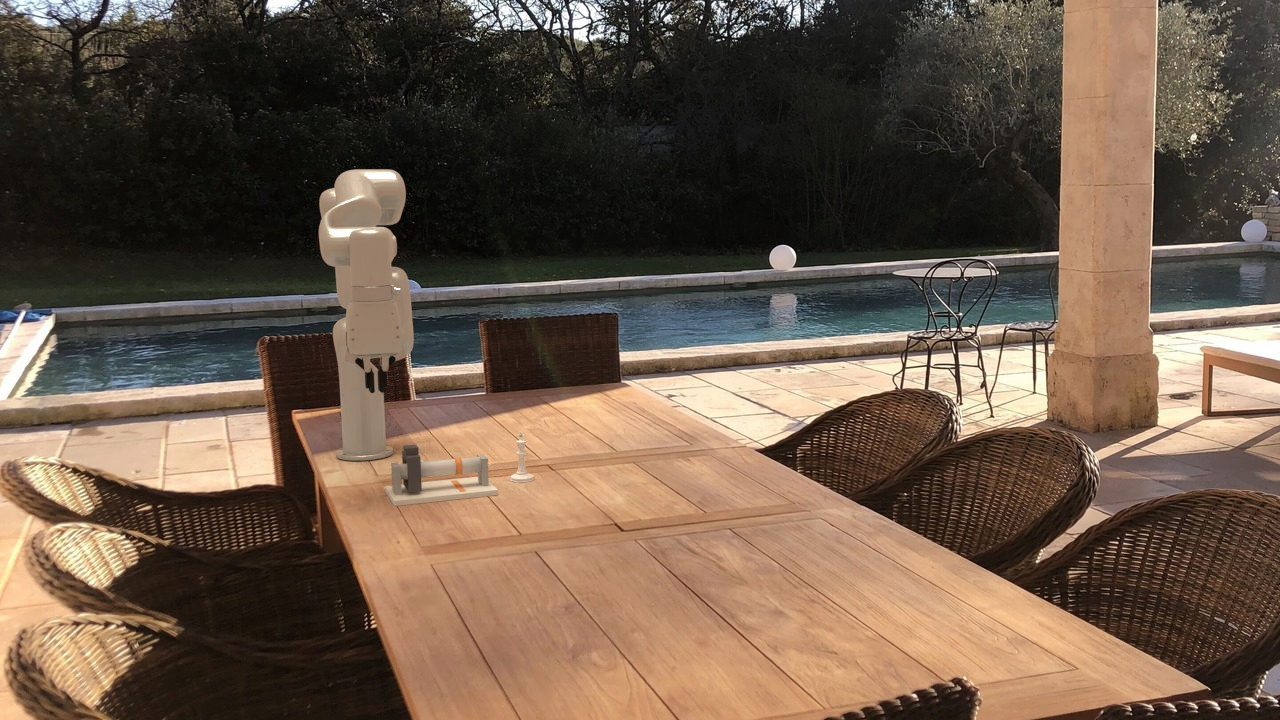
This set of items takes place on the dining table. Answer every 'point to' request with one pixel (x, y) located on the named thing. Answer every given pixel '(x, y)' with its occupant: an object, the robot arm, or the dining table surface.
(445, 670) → the dining table surface
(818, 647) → the dining table surface
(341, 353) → the robot arm
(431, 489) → the rail
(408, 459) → the dark grey notched block
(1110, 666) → the dining table surface
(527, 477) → the chess piece
